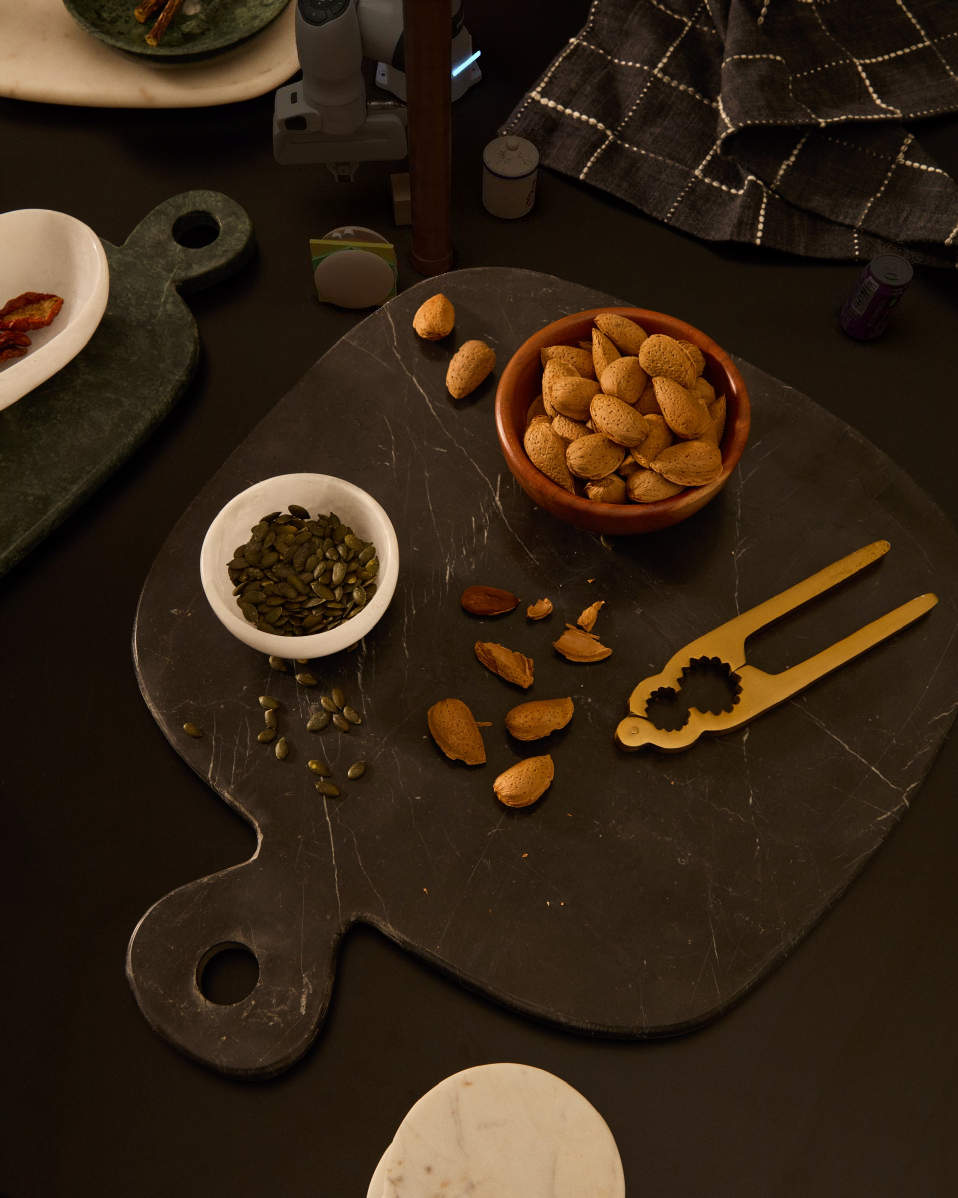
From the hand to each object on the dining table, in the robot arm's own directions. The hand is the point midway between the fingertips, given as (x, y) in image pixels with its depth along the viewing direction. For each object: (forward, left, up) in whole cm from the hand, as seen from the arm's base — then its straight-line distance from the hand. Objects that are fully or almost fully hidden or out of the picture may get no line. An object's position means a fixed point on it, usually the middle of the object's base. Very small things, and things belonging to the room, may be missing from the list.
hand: (344, 179), depth 153 cm
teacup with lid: (-1, +26, -7) cm, 27 cm away
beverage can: (+32, +77, -7) cm, 84 cm away
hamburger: (+18, 0, -7) cm, 19 cm away
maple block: (+1, +10, -6) cm, 12 cm away
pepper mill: (+12, +12, -6) cm, 18 cm away
